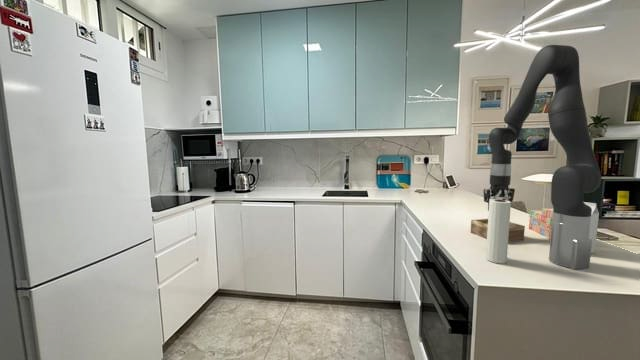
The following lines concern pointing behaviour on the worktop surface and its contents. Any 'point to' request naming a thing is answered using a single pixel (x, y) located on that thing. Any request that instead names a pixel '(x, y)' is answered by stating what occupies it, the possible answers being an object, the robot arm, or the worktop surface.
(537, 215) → the stack of blocks
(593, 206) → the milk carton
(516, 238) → the wooden tray
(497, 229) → the paper towel roll
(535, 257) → the worktop surface
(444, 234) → the worktop surface
